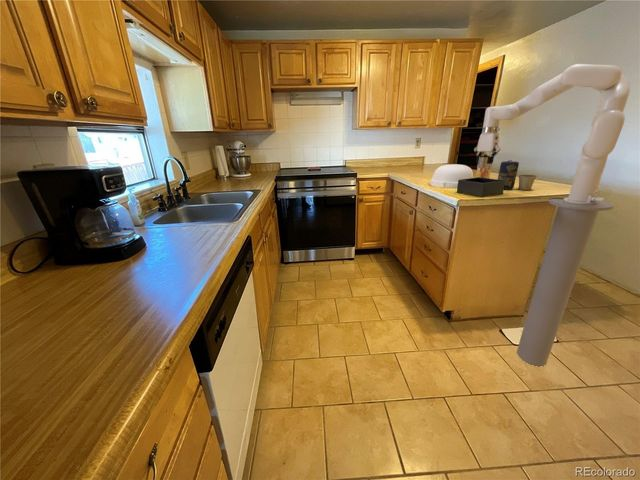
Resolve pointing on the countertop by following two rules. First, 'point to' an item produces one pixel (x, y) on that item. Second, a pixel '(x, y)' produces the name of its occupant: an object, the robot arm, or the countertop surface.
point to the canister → (508, 173)
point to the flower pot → (526, 181)
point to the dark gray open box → (480, 186)
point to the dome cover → (450, 175)
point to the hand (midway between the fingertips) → (484, 162)
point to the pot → (483, 161)
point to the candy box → (483, 172)
